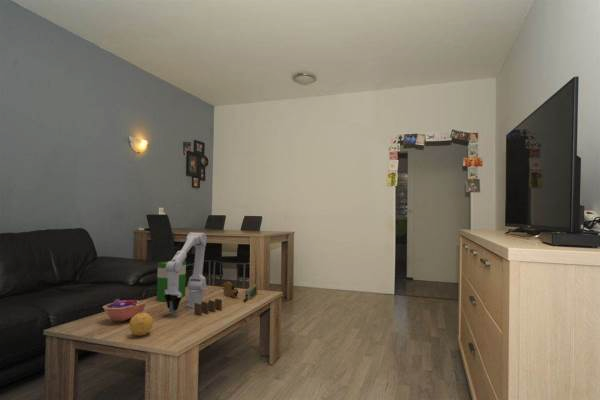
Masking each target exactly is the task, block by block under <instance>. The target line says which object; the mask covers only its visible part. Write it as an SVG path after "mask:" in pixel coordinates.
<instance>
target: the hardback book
mask: <svg viewBox="0 0 600 400" xmlns="http://www.w3.org/2000/svg"><path fill="white" fill-rule="evenodd" d="M170 261H171V260H169V261H168V260H167V261H163V262H157V277H156V278H157V283H156V284H157V285H156V287H157V288H156V302H161V303H167V302H166V299H165V297H164V295H166V294H165V290H167V287H168V275H167V271H166V269H165V267H166V264H167V263H168V262H170ZM186 268H187V260H186V259H185V260H184V261H183V263H182V267H181V270H180V271H179V292H180V293H182V298H185V297H186V279H187V278H186V272H187V271H186V270H187V269H186ZM184 296H185V297H184Z"/></svg>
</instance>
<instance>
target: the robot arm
mask: <svg viewBox="0 0 600 400" xmlns="http://www.w3.org/2000/svg"><path fill="white" fill-rule="evenodd" d="M207 238H208V237H207V234H206V233H205V232H192V231H190V232H189V233H187V236H186V241H185V243H184V244H183V247H182V248H181V250H178V251H176V252H175V254H174V256H173V258H172V259H171V260H169V261H170V262H168V263H167V264H166V267H165V269H166V271H167V275H168V287H167V290H165V294H166V295H164V297H165V299H166V302H165V303H166V305H167V309H169V301H171V300H172V304H173V310H176V311H177V310H178V308H179V306H180V305H179V304H180V303H181V300H182V299H183V297H182V293H180V292H179V271H180V270H181V267H182V263H183V261H184V260H186V259H187V256H188V255H187V253H188V252H189V251H190V249H191V248H192V247H194V248H195V253H194V265H193V271H192V275H191V276H190V277H189V279H188V281H187V289H188V290H189V291H188V293H187V297H186V298H187V299H186V304H185V306H186V307H189V308H192V309H194V303H199V304H202V301H204V291H205V289H206V288H207V281H206V280H207V278H206V277H205V276H204V275H203V270H204V260H205V253H206V252H205V251H206V246H207Z"/></svg>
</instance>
